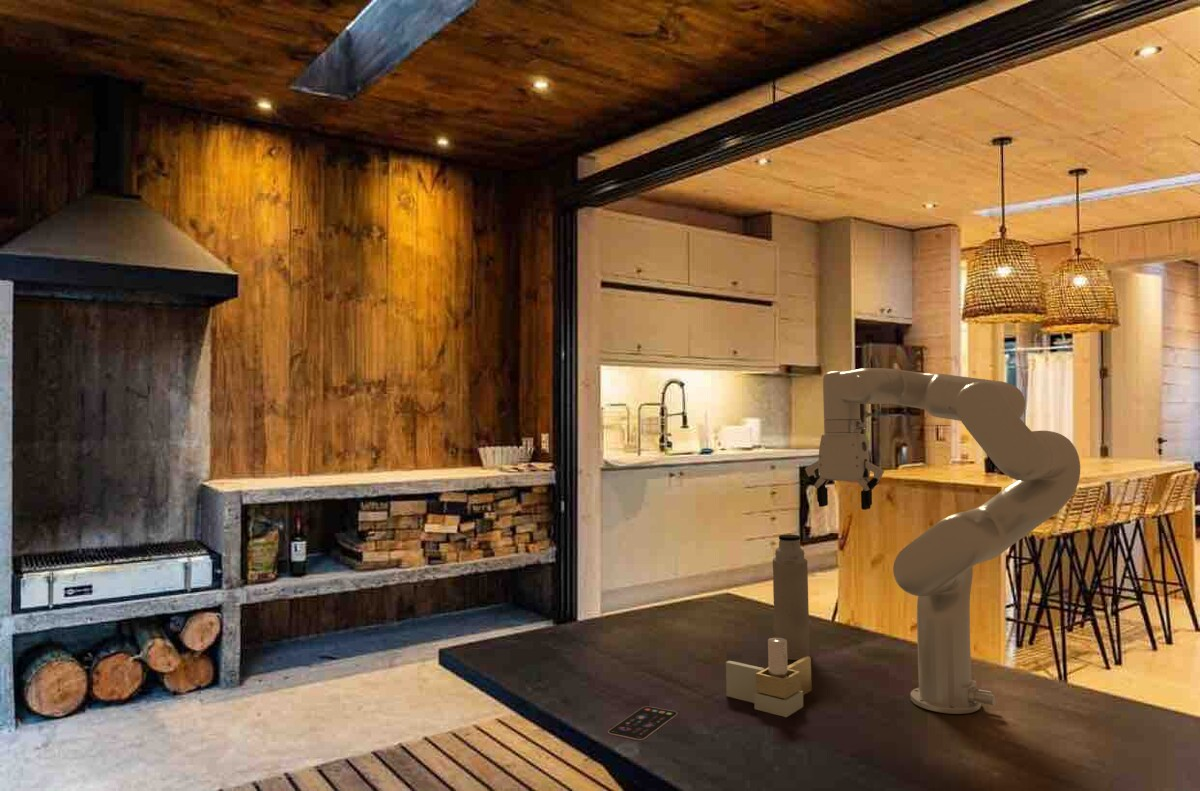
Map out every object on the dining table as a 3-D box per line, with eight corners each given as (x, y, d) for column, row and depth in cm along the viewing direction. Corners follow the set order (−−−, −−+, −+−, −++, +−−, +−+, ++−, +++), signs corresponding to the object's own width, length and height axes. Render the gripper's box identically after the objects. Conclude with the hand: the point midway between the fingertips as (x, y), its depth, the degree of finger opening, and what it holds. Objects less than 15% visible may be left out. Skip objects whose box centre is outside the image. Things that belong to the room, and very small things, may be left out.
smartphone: (679, 711, 154) (642, 740, 142) (679, 715, 154) (642, 743, 142) (644, 705, 158) (605, 732, 146) (645, 708, 158) (605, 735, 146)
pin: (791, 707, 156) (790, 639, 157) (782, 712, 154) (781, 643, 154) (775, 703, 159) (773, 636, 159) (766, 708, 156) (764, 640, 156)
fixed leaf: (823, 693, 164) (822, 659, 164) (785, 716, 152) (784, 680, 152) (795, 686, 168) (794, 653, 168) (756, 708, 156) (755, 673, 156)
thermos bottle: (772, 649, 194) (770, 532, 194) (806, 649, 193) (803, 532, 193) (776, 659, 186) (774, 537, 186) (812, 660, 185) (809, 537, 186)
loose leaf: (803, 706, 156) (802, 671, 157) (786, 717, 151) (785, 680, 151) (737, 690, 166) (736, 657, 166) (719, 699, 161) (718, 665, 161)
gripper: (888, 427, 171) (890, 508, 171) (813, 427, 182) (814, 503, 182) (874, 428, 165) (876, 512, 165) (797, 428, 177) (799, 506, 176)
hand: (844, 507), depth 174 cm, fingers open, 9 cm apart
